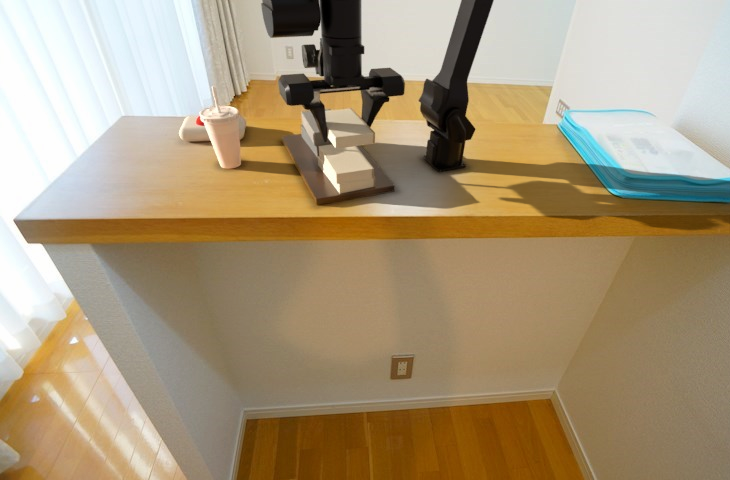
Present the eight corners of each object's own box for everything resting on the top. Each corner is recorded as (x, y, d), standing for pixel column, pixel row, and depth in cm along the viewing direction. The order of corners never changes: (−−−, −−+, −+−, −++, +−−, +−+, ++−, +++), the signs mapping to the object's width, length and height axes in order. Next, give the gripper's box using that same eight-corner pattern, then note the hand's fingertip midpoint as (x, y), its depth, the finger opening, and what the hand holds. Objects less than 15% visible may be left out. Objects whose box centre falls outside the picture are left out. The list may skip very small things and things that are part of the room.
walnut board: (346, 133, 90) (346, 128, 90) (394, 191, 73) (394, 185, 72) (282, 141, 86) (281, 136, 85) (316, 205, 68) (316, 199, 67)
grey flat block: (331, 121, 86) (330, 108, 84) (346, 142, 78) (346, 129, 76) (302, 123, 84) (300, 111, 82) (315, 146, 76) (314, 132, 74)
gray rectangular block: (329, 133, 87) (329, 121, 86) (348, 155, 80) (348, 142, 78) (301, 136, 85) (300, 124, 83) (318, 159, 78) (317, 146, 76)
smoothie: (213, 174, 74) (192, 93, 65) (211, 158, 78) (191, 80, 69) (250, 169, 76) (235, 90, 67) (246, 154, 80) (232, 78, 71)
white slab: (244, 103, 89) (240, 121, 81) (248, 123, 92) (244, 142, 84) (183, 104, 87) (173, 122, 79) (189, 124, 89) (180, 144, 82)
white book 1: (351, 118, 73) (351, 108, 72) (375, 143, 66) (375, 132, 65) (316, 122, 71) (315, 111, 70) (335, 148, 64) (335, 137, 63)
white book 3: (350, 159, 79) (350, 150, 77) (375, 186, 71) (375, 177, 70) (318, 165, 76) (317, 156, 75) (339, 193, 69) (339, 184, 68)
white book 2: (353, 150, 77) (353, 141, 76) (373, 178, 70) (374, 168, 69) (319, 155, 75) (318, 145, 74) (336, 184, 68) (336, 174, 66)
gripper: (380, 21, 68) (378, 115, 78) (264, 24, 61) (278, 126, 71) (409, 37, 60) (402, 139, 70) (280, 42, 54) (293, 154, 64)
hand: (344, 138), depth 69 cm, fingers closed on white book 1, 6 cm apart
